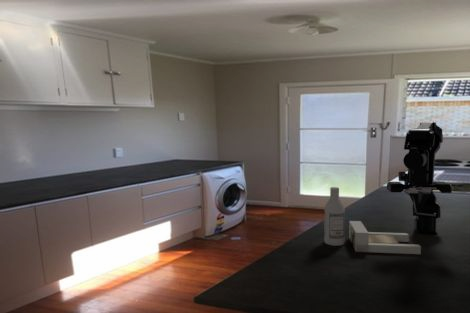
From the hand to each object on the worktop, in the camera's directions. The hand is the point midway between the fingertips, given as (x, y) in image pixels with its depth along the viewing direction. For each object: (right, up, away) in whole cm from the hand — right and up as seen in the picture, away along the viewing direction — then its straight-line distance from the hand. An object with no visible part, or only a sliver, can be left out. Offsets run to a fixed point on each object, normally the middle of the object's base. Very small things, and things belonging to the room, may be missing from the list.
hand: (417, 212), depth 117 cm
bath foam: (-26, -12, +7) cm, 30 cm away
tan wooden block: (-13, -13, +3) cm, 18 cm away
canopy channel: (-12, -12, +3) cm, 17 cm away
